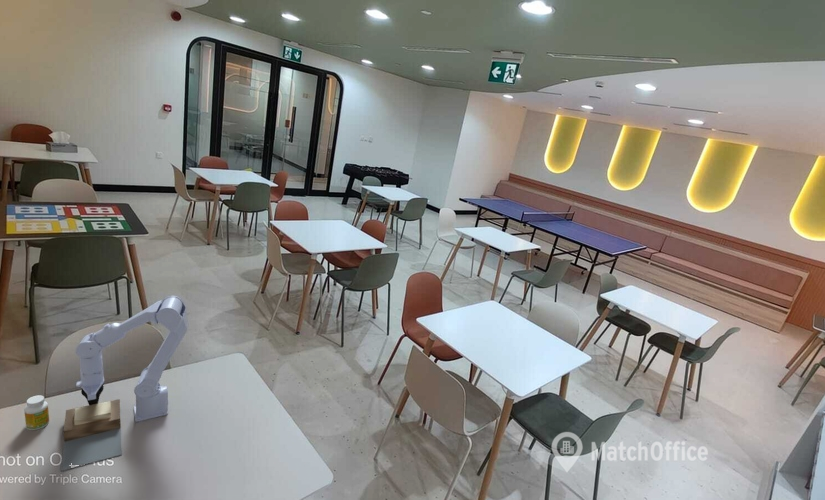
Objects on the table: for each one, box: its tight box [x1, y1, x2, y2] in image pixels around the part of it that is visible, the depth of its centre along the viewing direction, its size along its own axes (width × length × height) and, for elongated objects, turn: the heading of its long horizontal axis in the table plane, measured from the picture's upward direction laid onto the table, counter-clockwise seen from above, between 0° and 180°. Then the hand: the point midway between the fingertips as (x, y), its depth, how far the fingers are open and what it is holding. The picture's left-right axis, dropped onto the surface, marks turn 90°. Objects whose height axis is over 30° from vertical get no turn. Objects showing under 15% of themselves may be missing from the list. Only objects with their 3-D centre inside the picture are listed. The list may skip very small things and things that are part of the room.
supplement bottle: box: [23, 394, 50, 431], centre depth 124 cm, size 5×5×10 cm
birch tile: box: [74, 400, 112, 425], centre depth 127 cm, size 9×6×2 cm, turn 126°
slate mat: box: [60, 428, 122, 473], centre depth 121 cm, size 14×12×1 cm
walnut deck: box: [63, 398, 122, 443], centre depth 129 cm, size 14×10×4 cm
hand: (93, 404), depth 131 cm, fingers closed
